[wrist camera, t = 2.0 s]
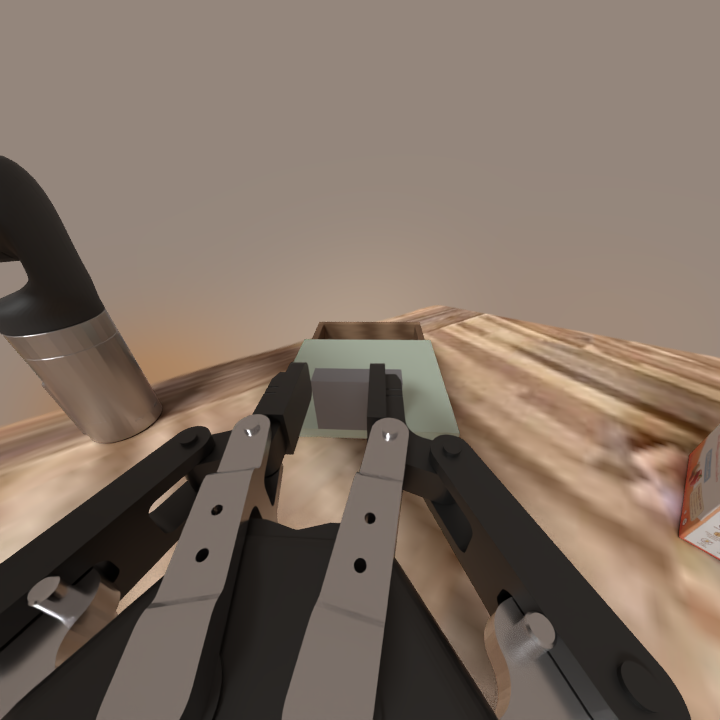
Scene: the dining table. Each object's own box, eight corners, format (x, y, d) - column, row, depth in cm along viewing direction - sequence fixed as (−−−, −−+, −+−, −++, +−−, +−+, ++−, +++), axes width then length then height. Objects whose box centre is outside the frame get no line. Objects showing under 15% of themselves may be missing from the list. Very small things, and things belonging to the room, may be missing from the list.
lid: (264, 435, 28) (246, 380, 24) (305, 345, 43) (298, 303, 39) (457, 441, 26) (472, 384, 22) (429, 346, 42) (435, 302, 38)
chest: (302, 420, 41) (294, 378, 36) (323, 356, 56) (319, 321, 51) (429, 424, 40) (436, 381, 35) (415, 358, 55) (419, 322, 50)
